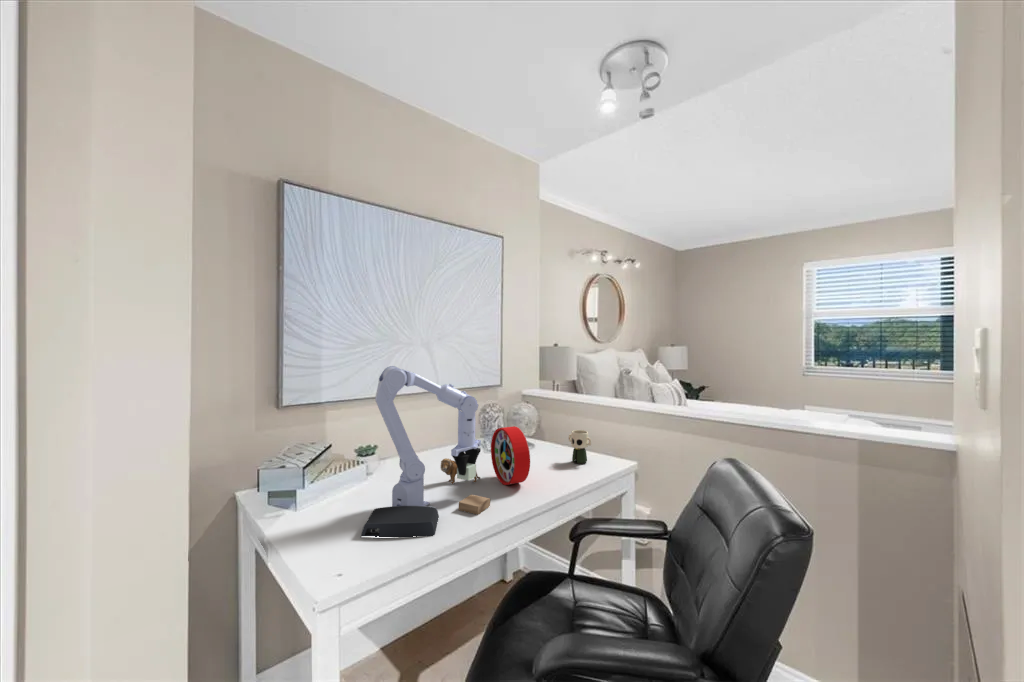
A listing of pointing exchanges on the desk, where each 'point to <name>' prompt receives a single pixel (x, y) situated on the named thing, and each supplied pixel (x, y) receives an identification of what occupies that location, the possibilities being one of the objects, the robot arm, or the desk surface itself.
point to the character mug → (579, 445)
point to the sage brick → (468, 472)
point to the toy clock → (510, 455)
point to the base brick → (474, 504)
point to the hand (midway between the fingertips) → (466, 472)
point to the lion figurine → (452, 469)
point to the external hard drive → (401, 521)
